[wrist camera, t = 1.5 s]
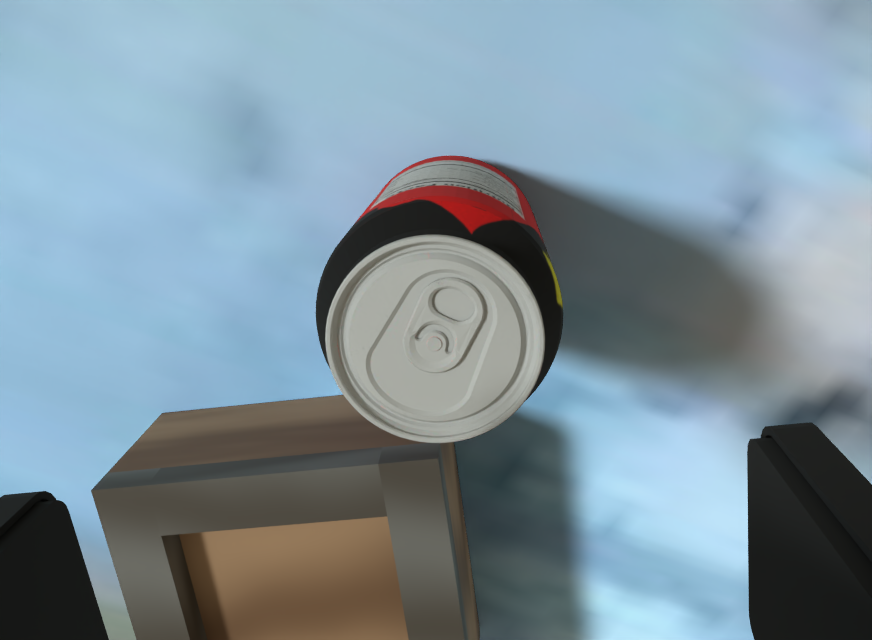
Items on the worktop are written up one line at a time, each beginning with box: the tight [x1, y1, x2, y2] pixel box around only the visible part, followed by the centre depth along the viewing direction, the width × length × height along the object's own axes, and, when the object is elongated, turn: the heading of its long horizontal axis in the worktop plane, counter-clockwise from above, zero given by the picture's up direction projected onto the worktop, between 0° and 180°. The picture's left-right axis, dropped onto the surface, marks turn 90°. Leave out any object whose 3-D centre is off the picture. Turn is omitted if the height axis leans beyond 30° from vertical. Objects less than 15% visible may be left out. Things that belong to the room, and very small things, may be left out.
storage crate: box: [91, 395, 480, 640], centre depth 30 cm, size 12×12×6 cm
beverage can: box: [316, 156, 563, 443], centre depth 23 cm, size 6×6×12 cm
